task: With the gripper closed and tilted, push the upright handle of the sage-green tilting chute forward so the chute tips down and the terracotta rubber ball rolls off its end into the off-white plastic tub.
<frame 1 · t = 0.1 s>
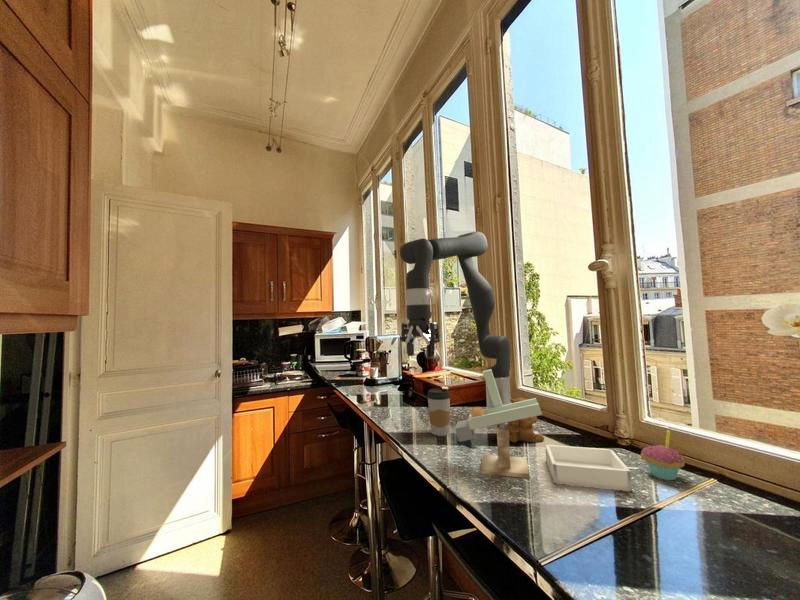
hand: (420, 356, 100), 29 cm above the breakfast bar, tool pointing down, fingers open, 8 cm apart
cupcake: (663, 476, 81), on the breakfast bar
stuffed squirrel: (518, 439, 109), on the breakfast bar
ball: (477, 413, 91), point 14 cm above the breakfast bar, tilted 32°, touching tilting chute
coffee cup: (440, 433, 116), on the breakfast bar
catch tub: (584, 474, 83), on the breakfast bar
fulcrum stand: (504, 467, 88), on the breakfast bar
tilting chute: (491, 400, 91), point 17 cm above the breakfast bar, hinge at -15.1°, touching ball
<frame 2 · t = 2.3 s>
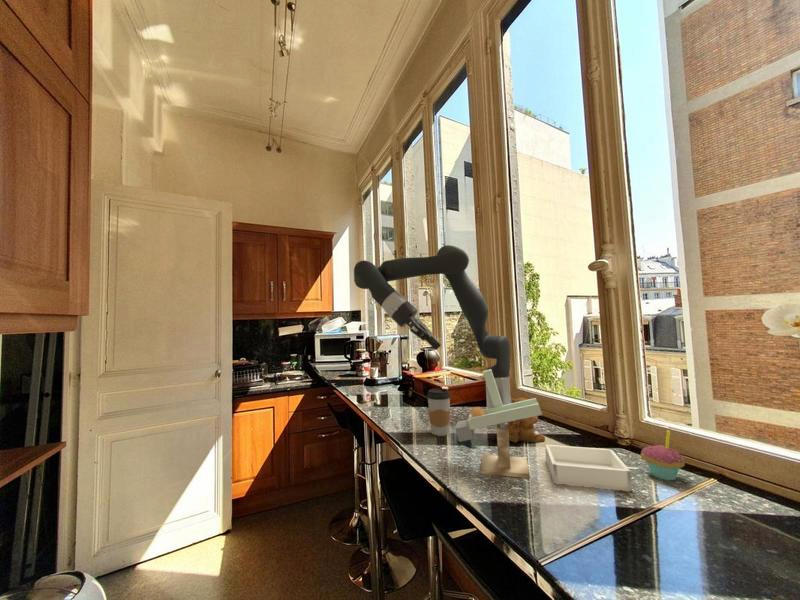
hand: (438, 347, 100), 32 cm above the breakfast bar, tool tilted 45°, fingers closed
nothing on the breakfast bar moved.
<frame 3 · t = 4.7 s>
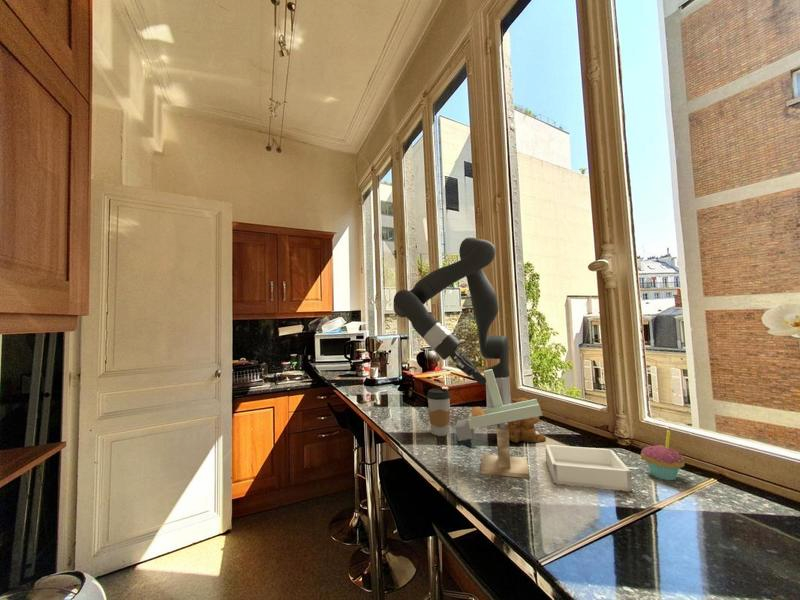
hand: (484, 383, 95), 22 cm above the breakfast bar, tool tilted 45°, fingers closed
tilting chute: (492, 400, 91), point 18 cm above the breakfast bar, hinge at -13.9°, touching ball
everything else where it was.
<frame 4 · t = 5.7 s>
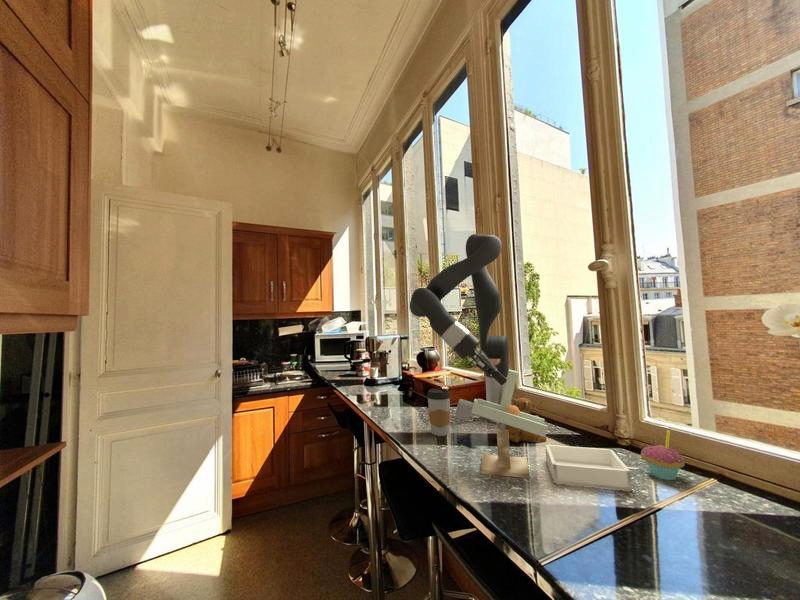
hand: (504, 382, 93), 22 cm above the breakfast bar, tool tilted 45°, fingers closed
ball: (512, 412, 89), point 15 cm above the breakfast bar, tilted 114°, touching tilting chute
tilting chute: (503, 399, 90), point 18 cm above the breakfast bar, hinge at 15.8°, touching ball, gripper
everything else where it was.
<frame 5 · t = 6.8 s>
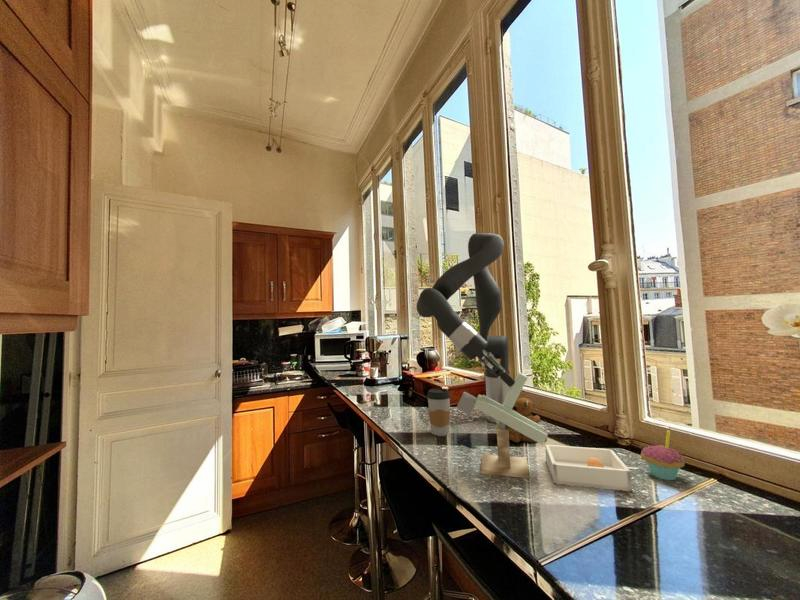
hand: (512, 384, 93), 22 cm above the breakfast bar, tool tilted 45°, fingers closed
ball: (595, 465, 82), point 3 cm above the breakfast bar, tilted 97°, touching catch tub
tilting chute: (508, 400, 90), point 18 cm above the breakfast bar, hinge at 27.5°, touching gripper
everything else where it was.
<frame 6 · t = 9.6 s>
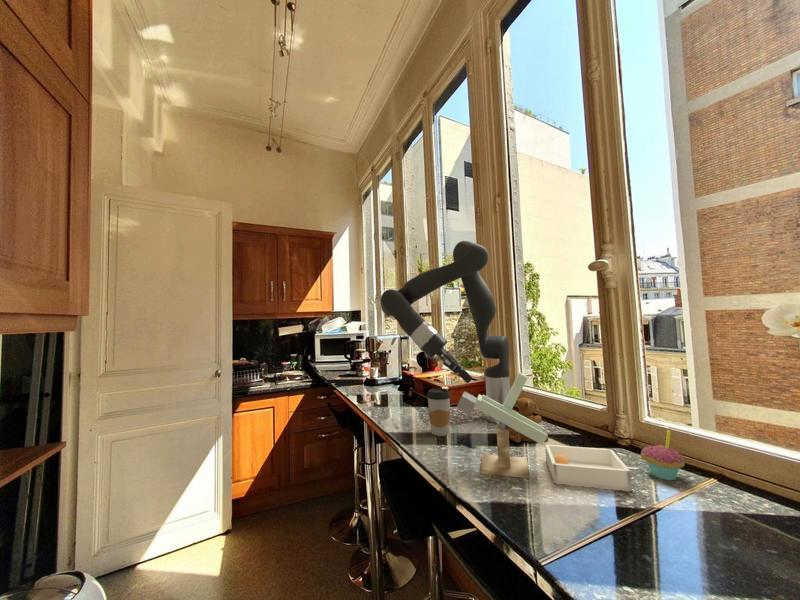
hand: (470, 380, 97), 22 cm above the breakfast bar, tool tilted 45°, fingers closed
ball: (560, 462, 85), point 3 cm above the breakfast bar, tilted 11°, touching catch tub
tilting chute: (508, 400, 90), point 18 cm above the breakfast bar, hinge at 27.6°
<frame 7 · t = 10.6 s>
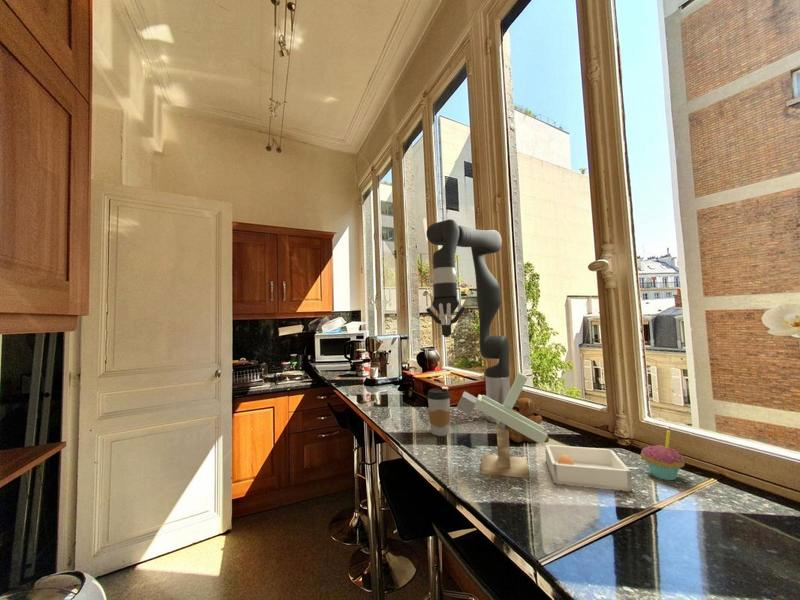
hand: (446, 336, 104), 35 cm above the breakfast bar, tool pointing down, fingers closed
ball: (565, 462, 84), point 3 cm above the breakfast bar, tilted 46°, touching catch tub
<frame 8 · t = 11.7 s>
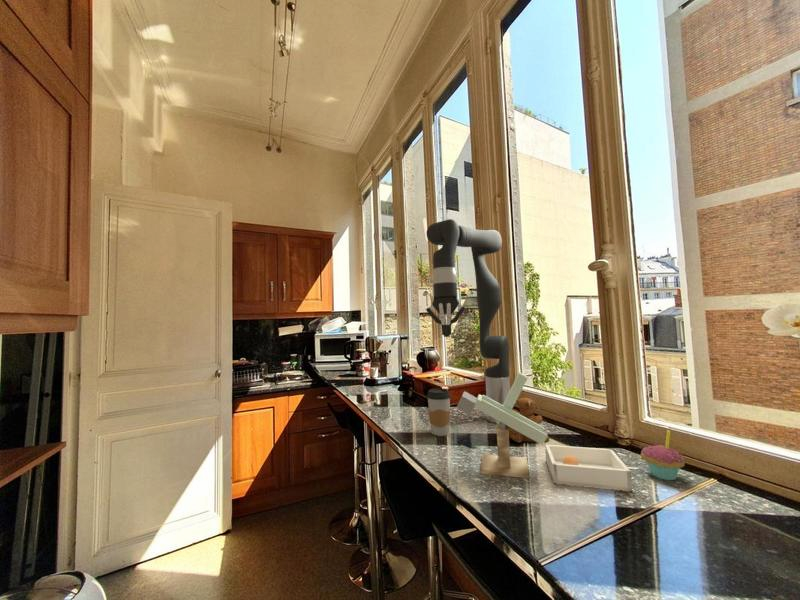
hand: (446, 336, 104), 35 cm above the breakfast bar, tool pointing down, fingers closed
ball: (570, 463, 84), point 3 cm above the breakfast bar, tilted 85°, touching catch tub
at the end: ball 3.1 cm from the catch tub (horizontally); ball point 2.6 cm above the breakfast bar; ball touching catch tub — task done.
